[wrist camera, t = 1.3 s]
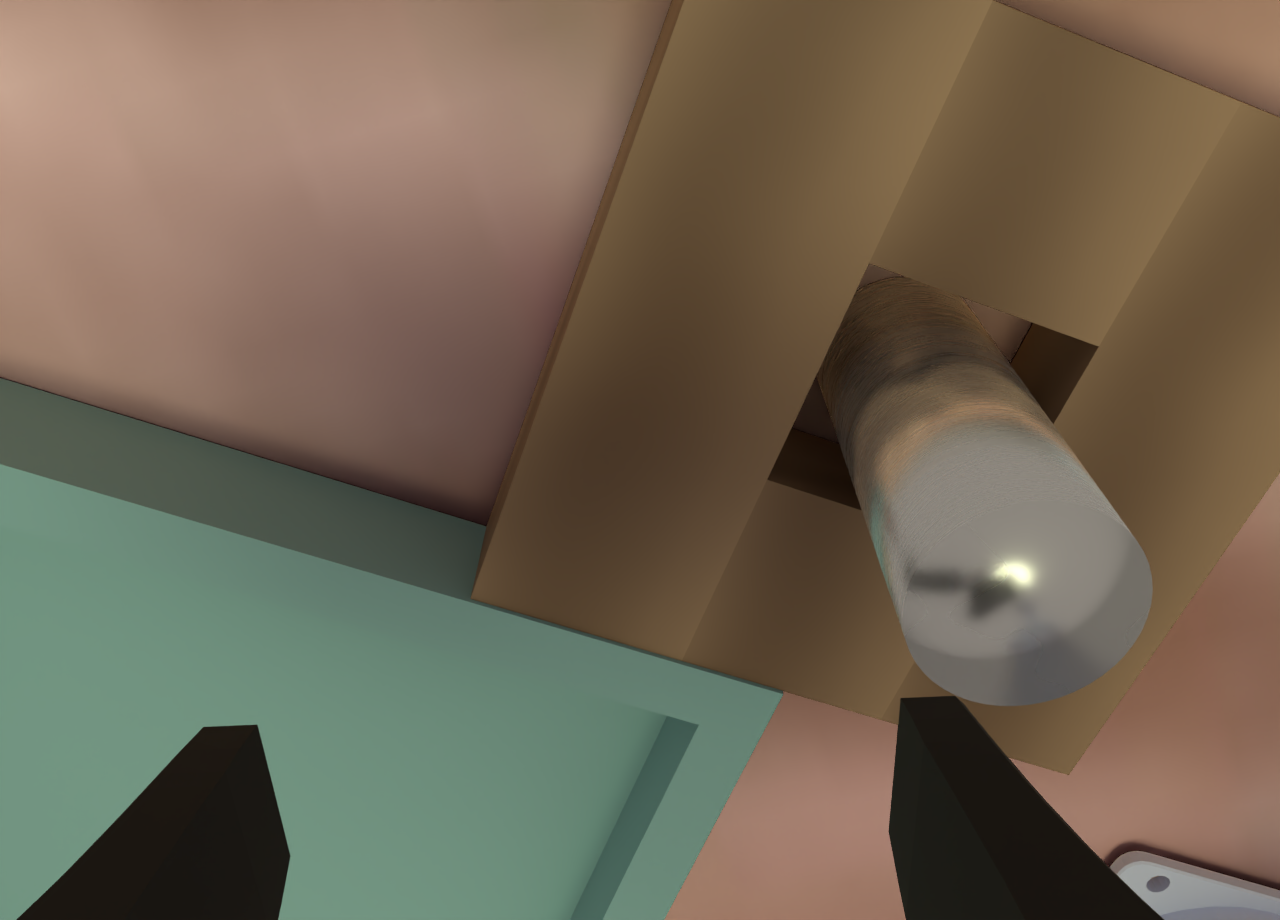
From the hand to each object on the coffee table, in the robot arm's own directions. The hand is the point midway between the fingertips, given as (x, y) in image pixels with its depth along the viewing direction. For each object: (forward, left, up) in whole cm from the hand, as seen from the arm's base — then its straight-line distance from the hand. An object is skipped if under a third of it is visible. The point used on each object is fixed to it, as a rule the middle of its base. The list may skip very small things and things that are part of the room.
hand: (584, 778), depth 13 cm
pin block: (-5, -3, -10) cm, 11 cm away
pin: (-5, -3, -10) cm, 11 cm away
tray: (+4, +12, -10) cm, 16 cm away
